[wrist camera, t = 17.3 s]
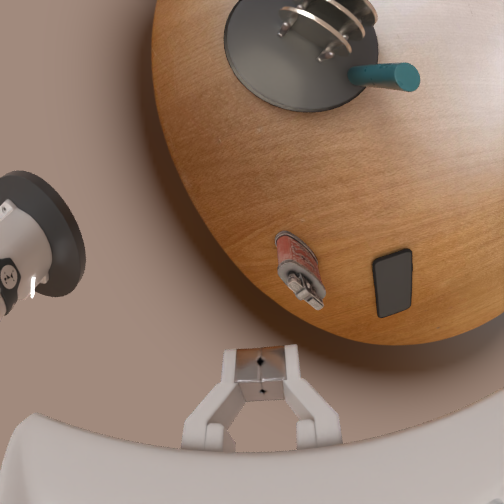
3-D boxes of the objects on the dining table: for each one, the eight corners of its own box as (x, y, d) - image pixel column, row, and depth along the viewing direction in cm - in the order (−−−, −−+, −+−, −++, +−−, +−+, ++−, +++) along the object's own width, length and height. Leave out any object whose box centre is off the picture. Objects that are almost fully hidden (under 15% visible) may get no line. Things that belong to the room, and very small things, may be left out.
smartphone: (377, 320, 48) (372, 262, 40) (376, 316, 49) (370, 259, 41) (411, 307, 47) (413, 248, 39) (409, 304, 48) (410, 245, 39)
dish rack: (324, 136, 30) (360, 168, 19) (199, 61, 25) (163, 49, 15) (398, 39, 22) (462, 31, 11) (280, -40, 17) (291, -93, 6)
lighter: (269, 240, 40) (272, 287, 32) (287, 225, 38) (294, 270, 30) (304, 271, 43) (314, 319, 35) (321, 259, 42) (335, 306, 33)
